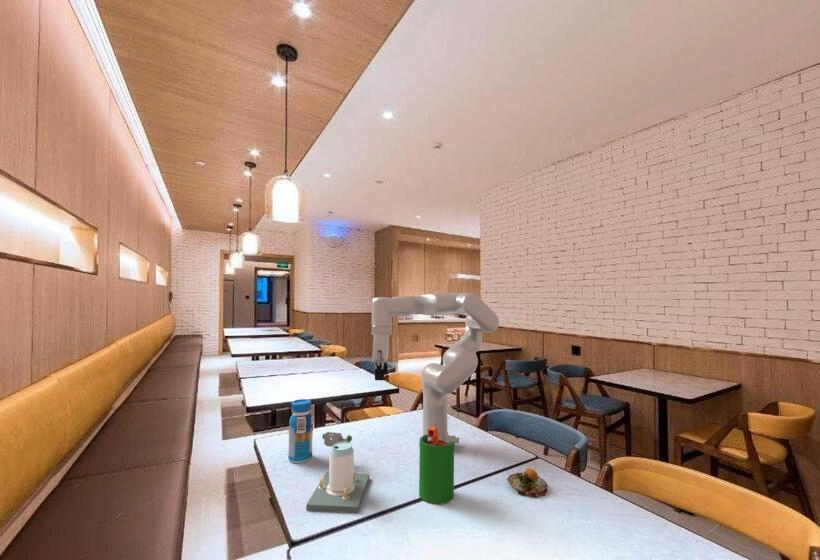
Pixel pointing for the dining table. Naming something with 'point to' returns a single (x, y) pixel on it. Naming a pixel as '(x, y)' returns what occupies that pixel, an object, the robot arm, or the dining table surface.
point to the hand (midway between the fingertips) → (381, 377)
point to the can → (341, 466)
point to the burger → (528, 483)
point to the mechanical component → (335, 438)
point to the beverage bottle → (300, 432)
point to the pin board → (338, 495)
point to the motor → (436, 469)
